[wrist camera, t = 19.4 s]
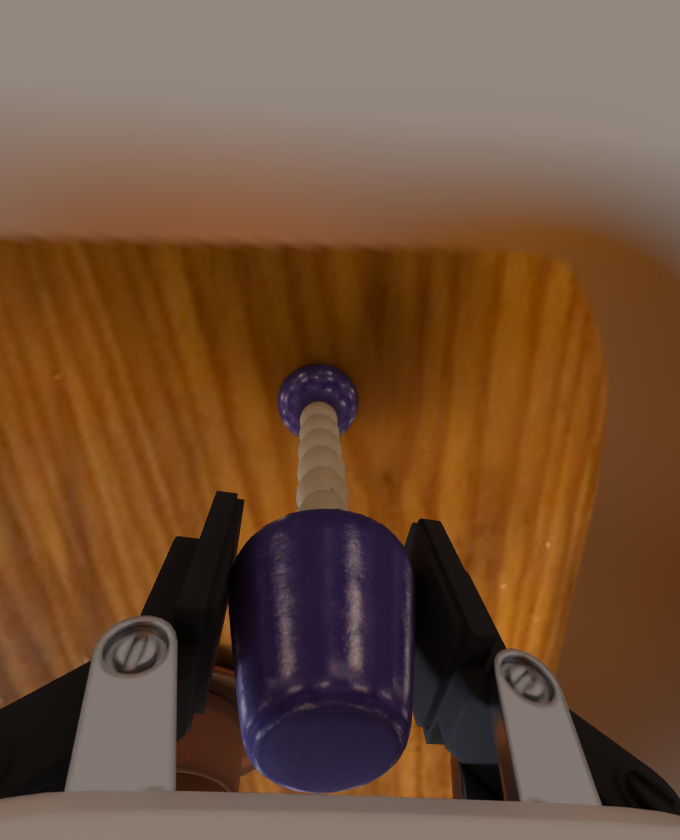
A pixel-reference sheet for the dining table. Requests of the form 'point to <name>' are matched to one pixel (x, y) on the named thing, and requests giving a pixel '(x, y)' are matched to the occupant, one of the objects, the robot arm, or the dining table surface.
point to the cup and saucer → (214, 742)
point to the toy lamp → (323, 616)
